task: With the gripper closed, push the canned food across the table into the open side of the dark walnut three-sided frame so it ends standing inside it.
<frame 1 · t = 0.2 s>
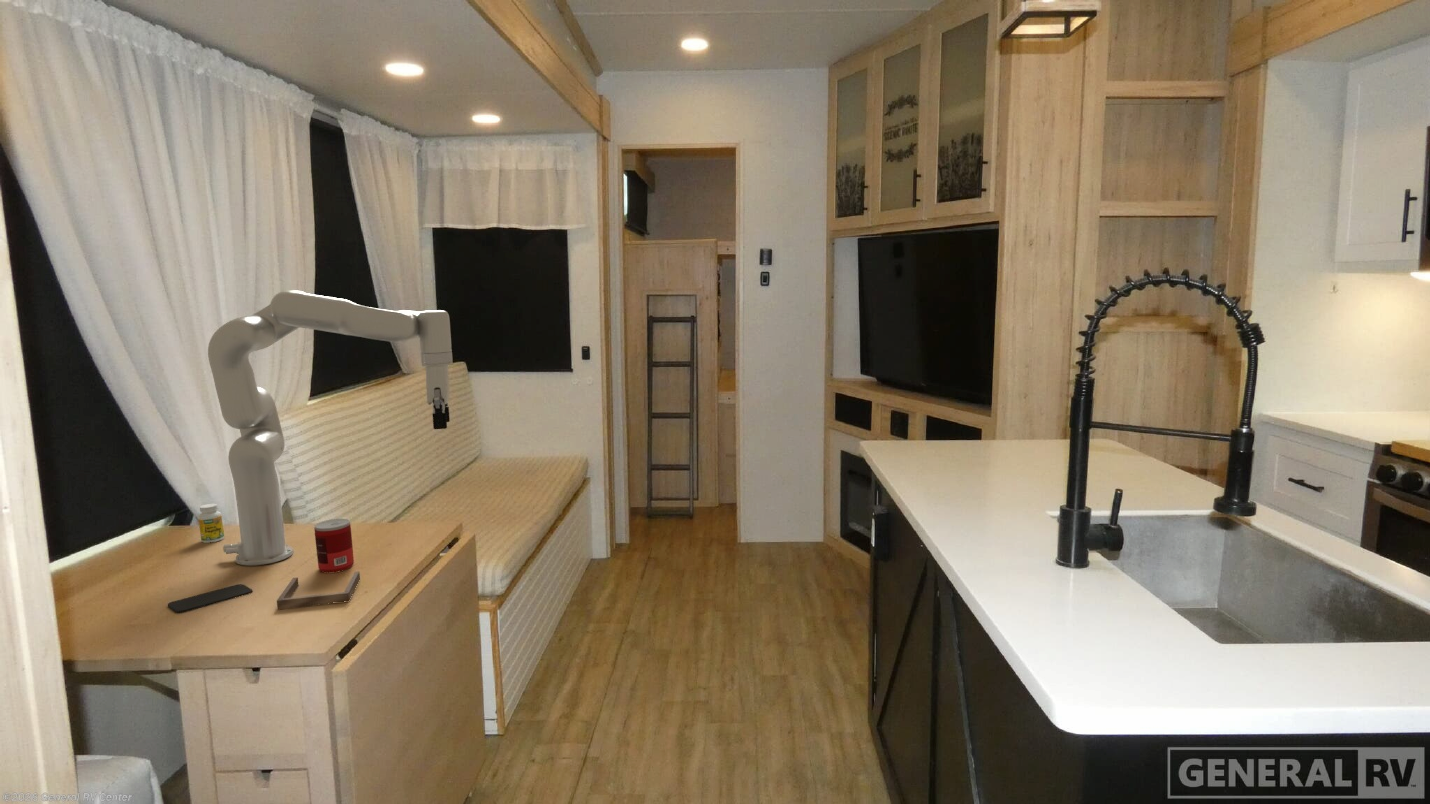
hand: (441, 425, 210), 31 cm above the table, tool pointing down, fingers open, 9 cm apart
walnut frame: (320, 594, 180), on the table
supplement bottle: (213, 540, 220), on the table
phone: (211, 601, 179), on the table
canned food: (336, 568, 197), on the table
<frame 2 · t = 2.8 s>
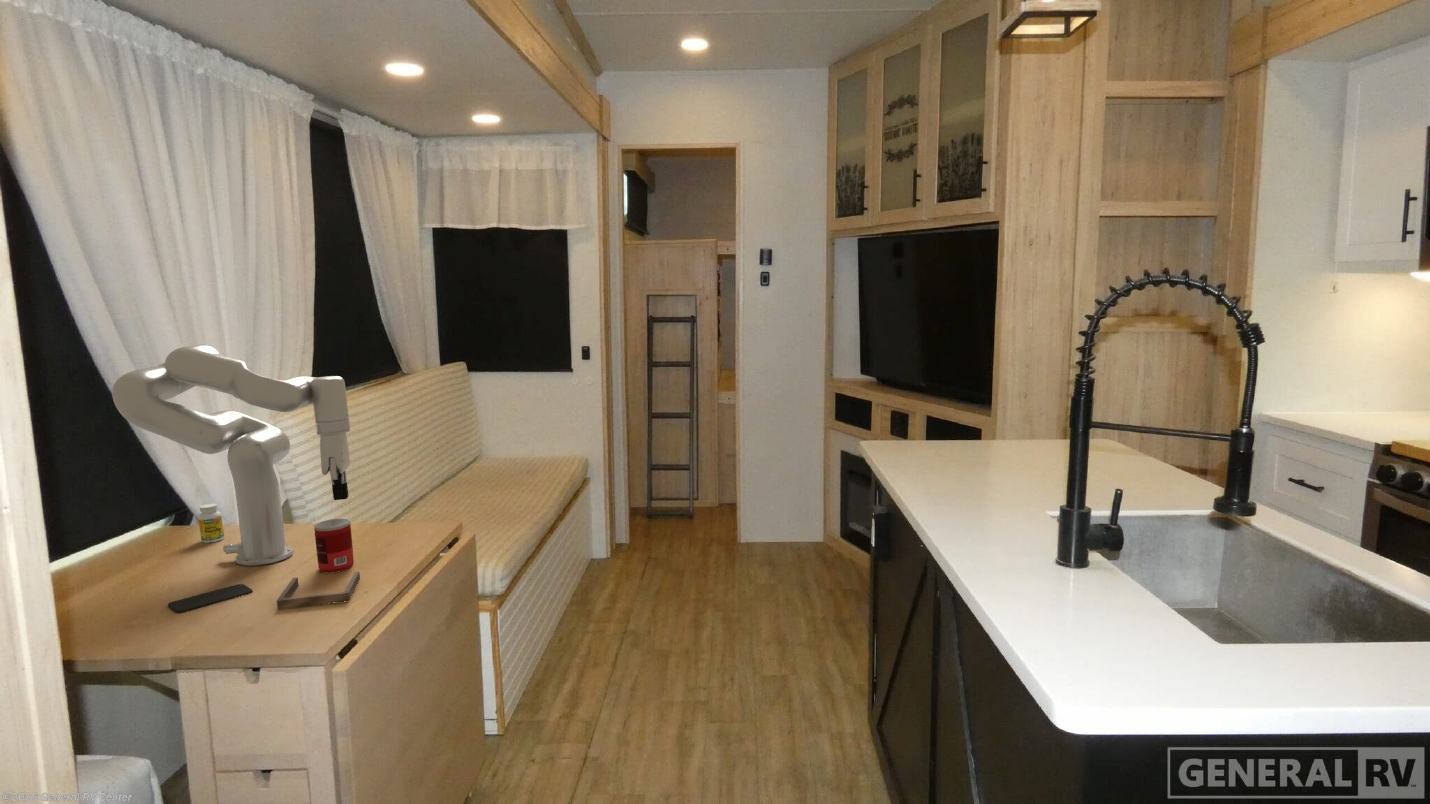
hand: (341, 498, 204), 14 cm above the table, tool pointing down, fingers closed
nothing on the table moved.
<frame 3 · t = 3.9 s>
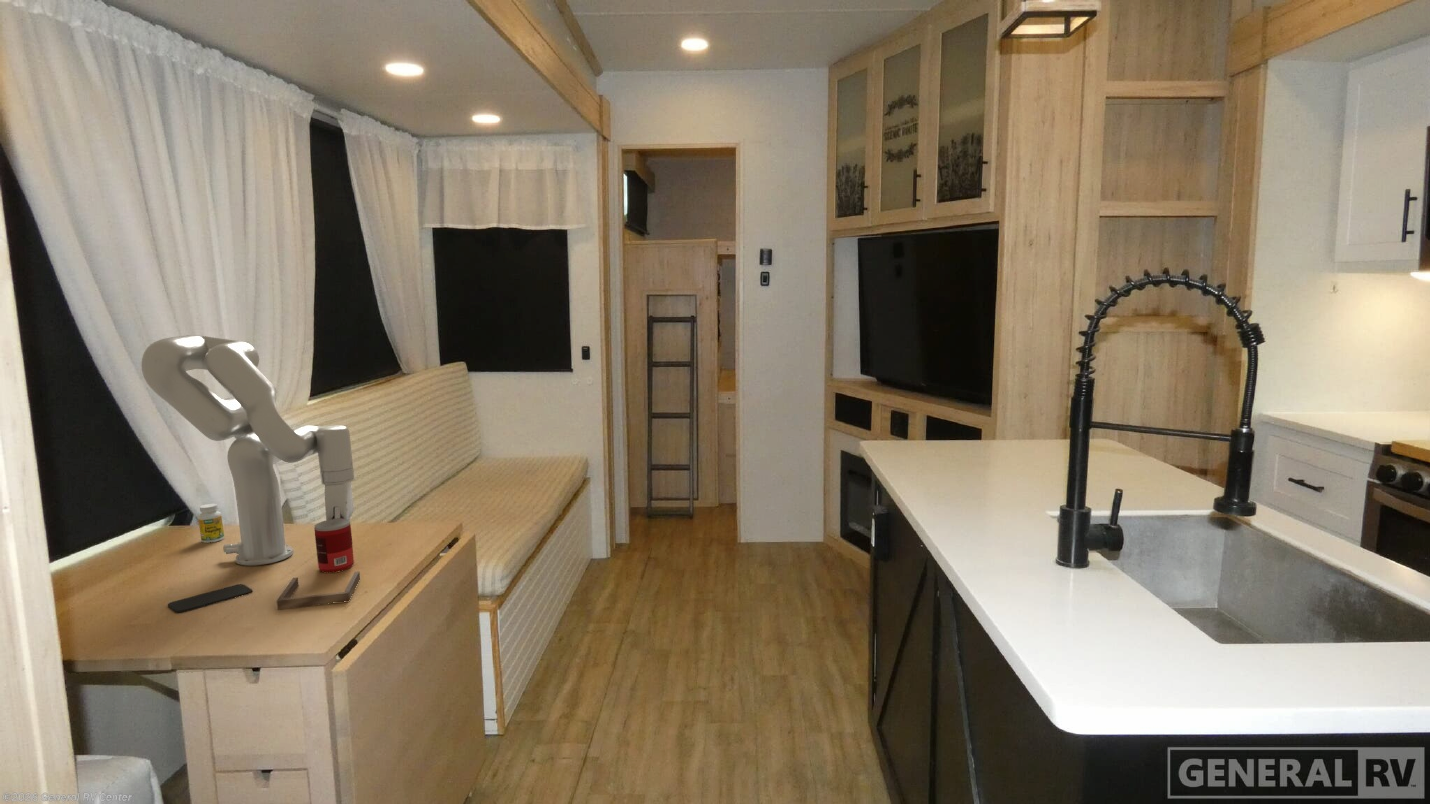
hand: (345, 546, 206), 2 cm above the table, tool pointing down, fingers closed
nothing on the table moved.
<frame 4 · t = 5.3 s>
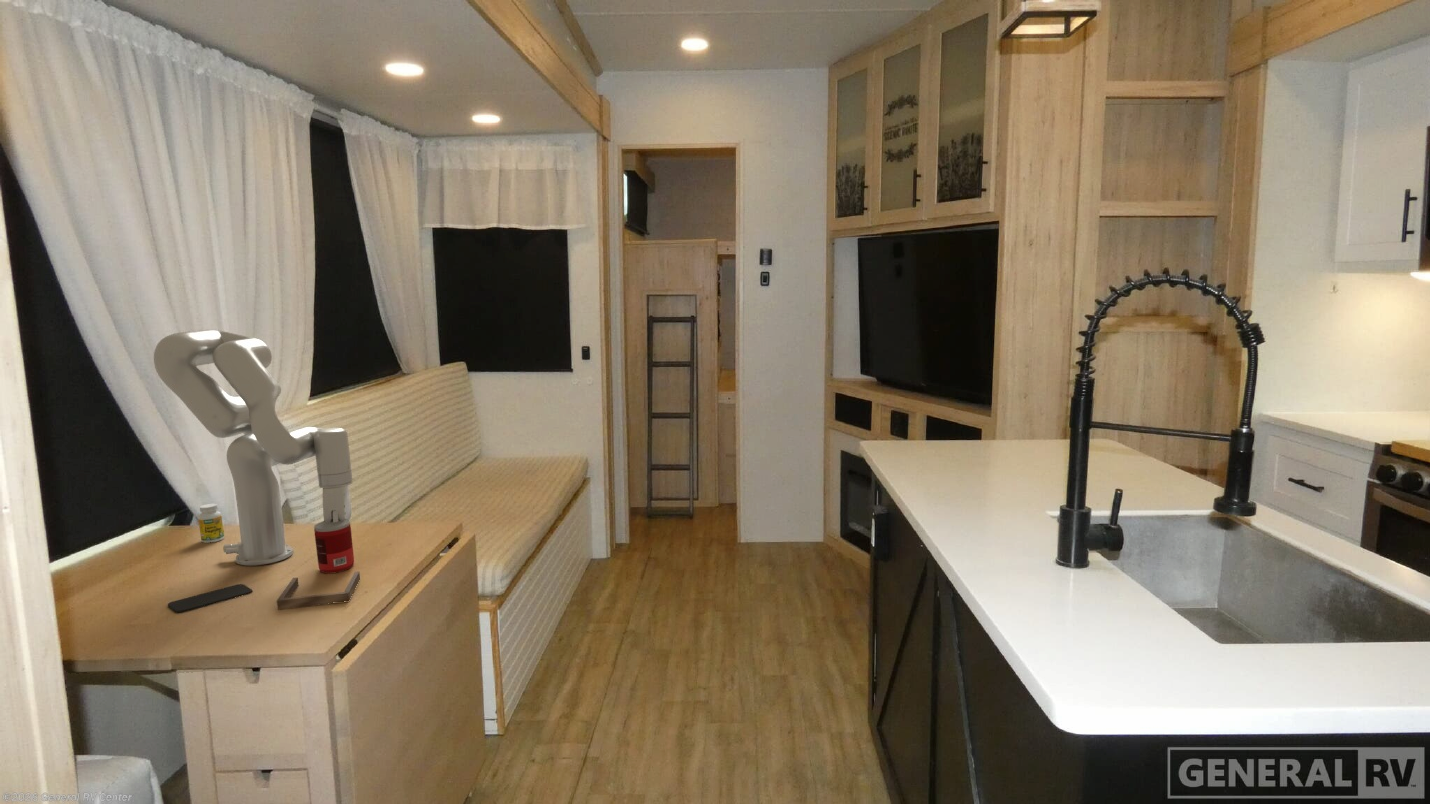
hand: (343, 550, 203), 2 cm above the table, tool pointing down, fingers closed
canned food: (337, 568, 196), on the table, touching gripper
everything else where it was.
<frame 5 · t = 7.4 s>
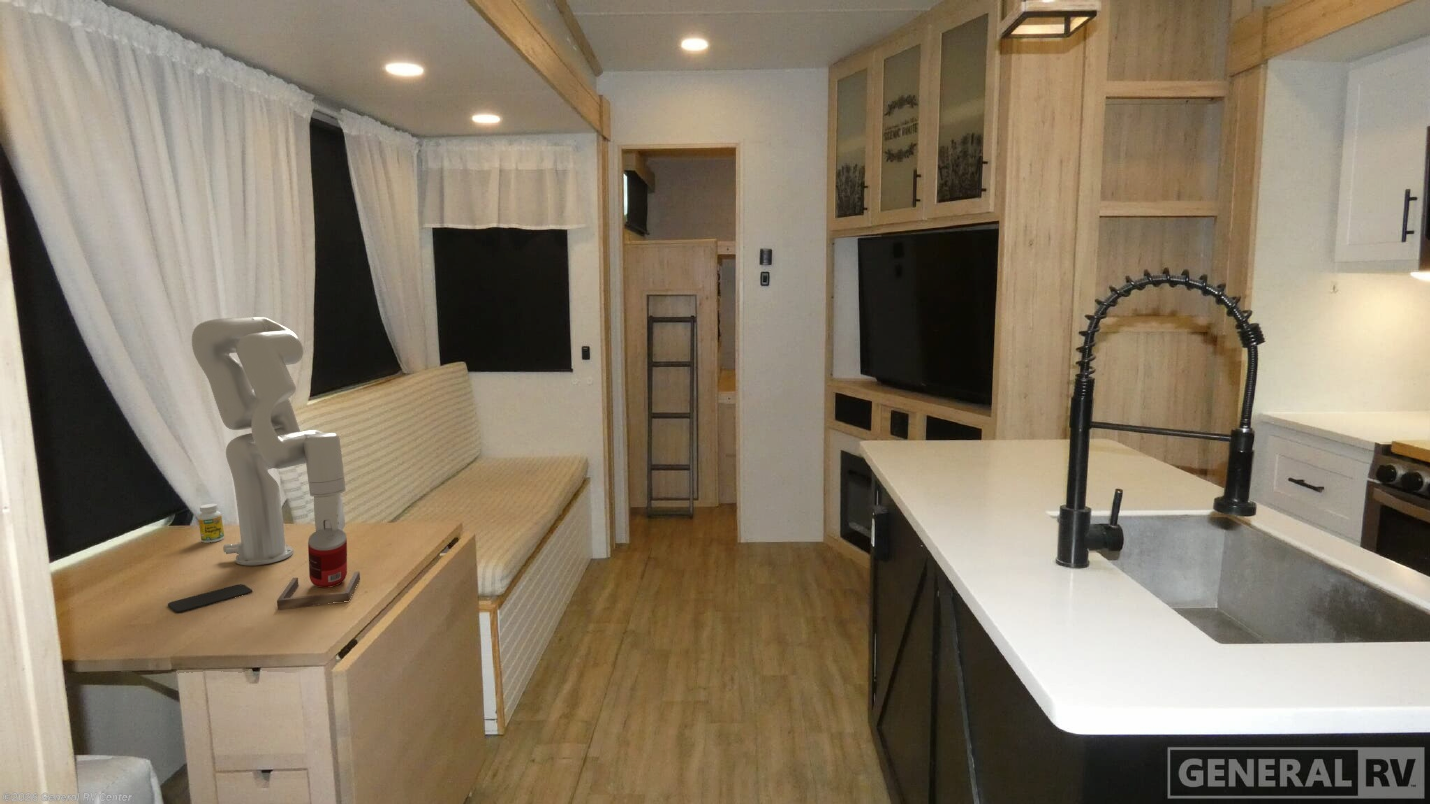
hand: (336, 562, 191), 3 cm above the table, tool pointing down, fingers closed
canned food: (328, 578, 187), point 1 cm above the table, touching gripper
everything else where it was.
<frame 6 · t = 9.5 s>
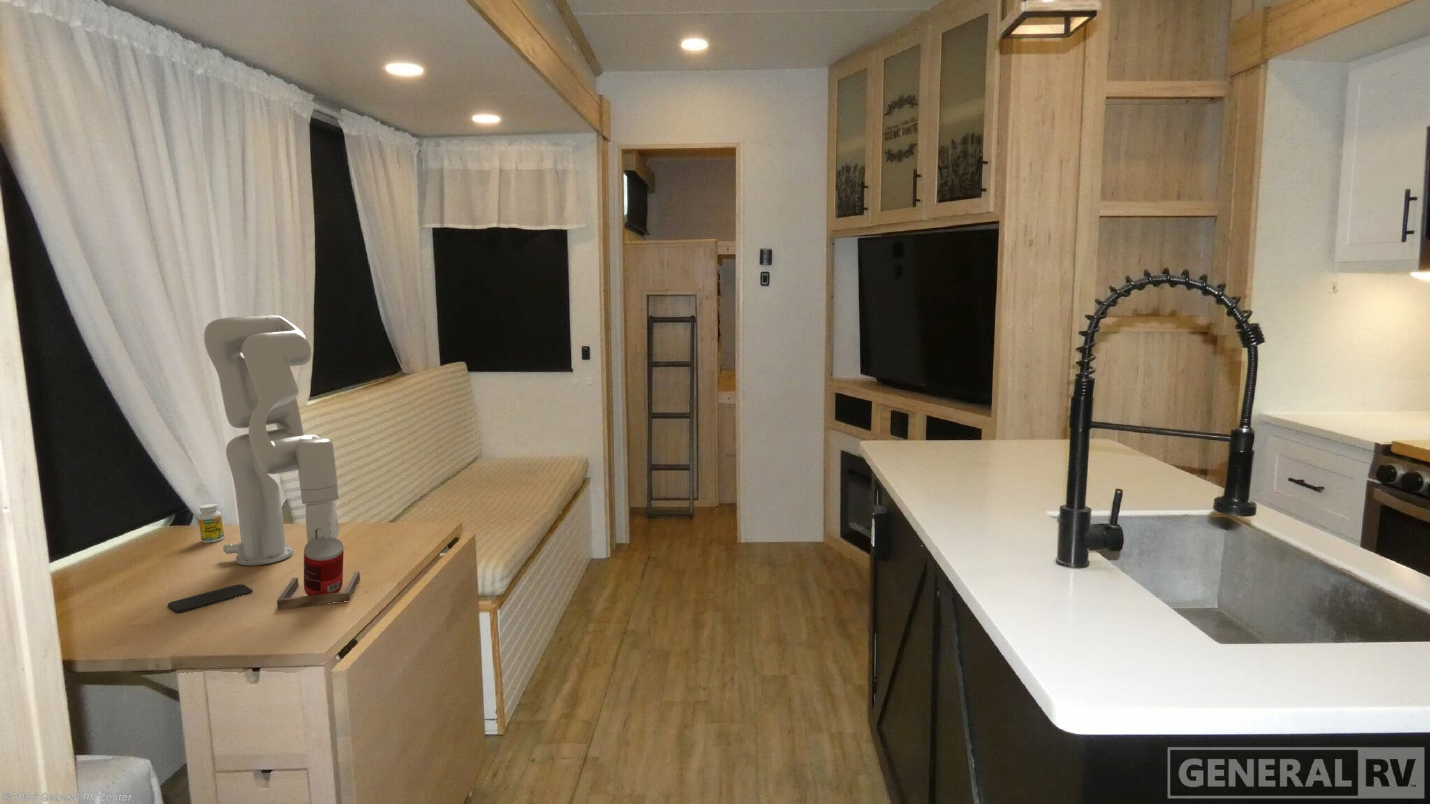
hand: (329, 573, 185), 3 cm above the table, tool pointing down, fingers closed
canned food: (323, 589, 180), point 1 cm above the table, touching gripper
everything else where it was.
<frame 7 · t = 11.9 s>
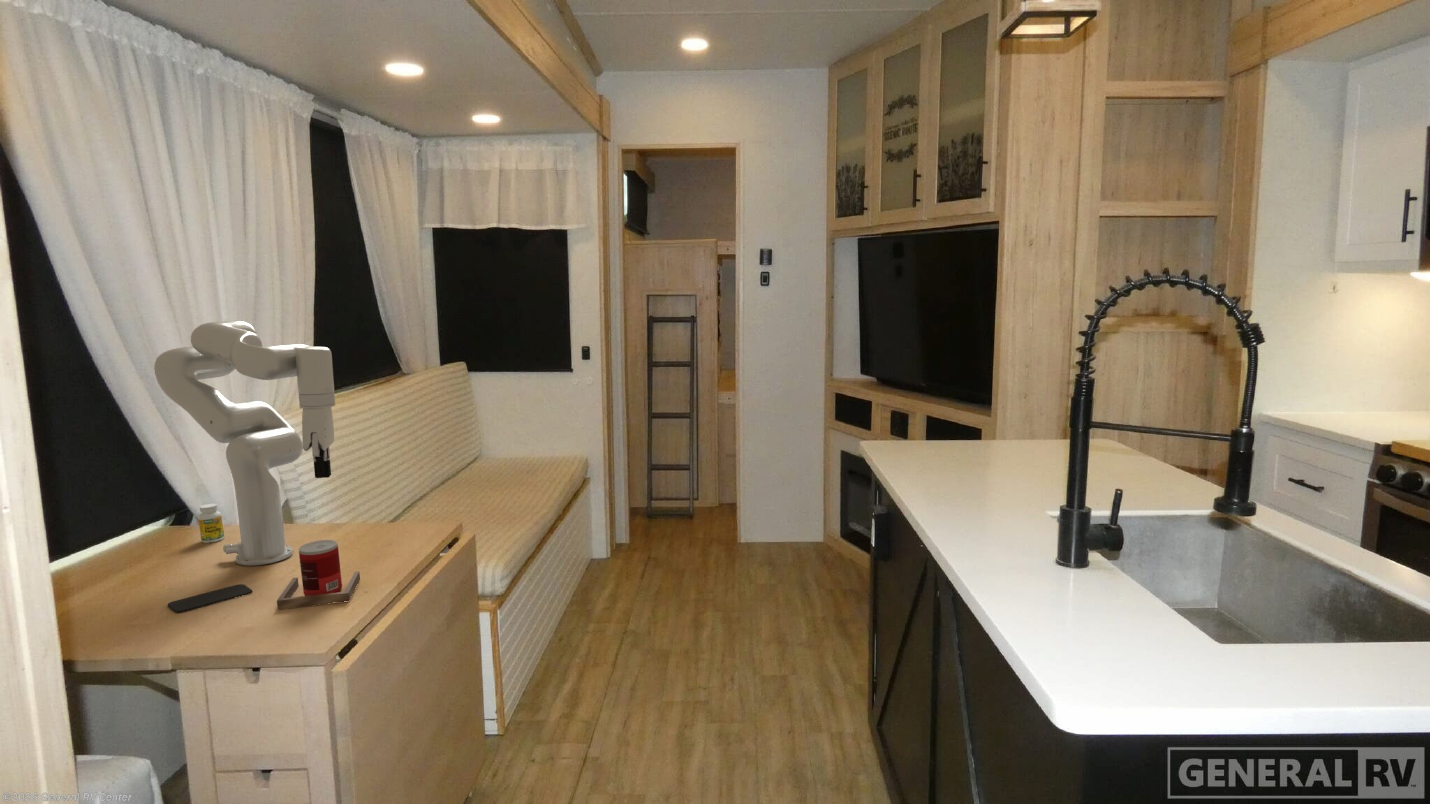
hand: (323, 476, 193), 23 cm above the table, tool pointing down, fingers closed
canned food: (323, 594, 181), on the table
everything else where it was.
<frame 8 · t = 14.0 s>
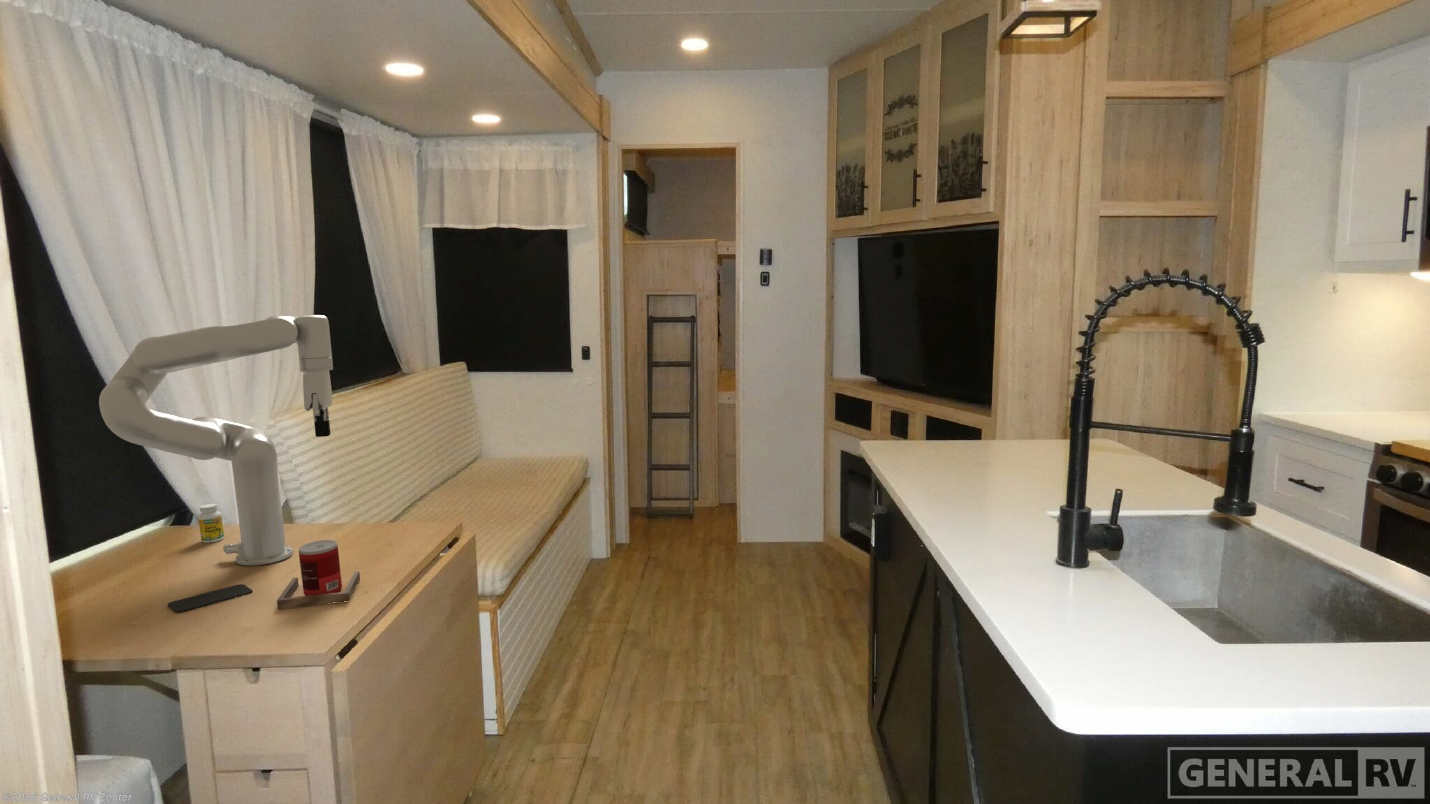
hand: (323, 435, 208), 29 cm above the table, tool pointing down, fingers closed
nothing on the table moved.
at the end: canned food inside the target area (0.7 cm from its centre), on the table; canned food tilted 1° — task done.
